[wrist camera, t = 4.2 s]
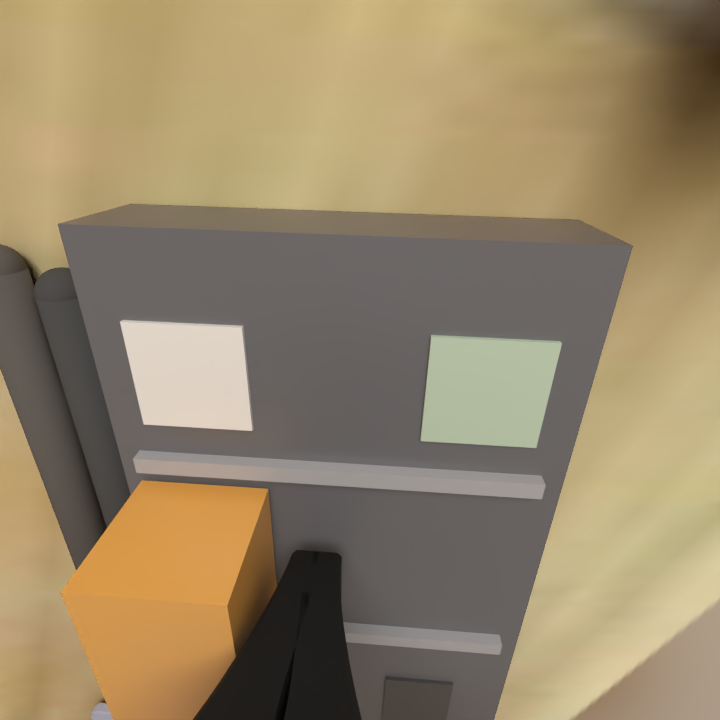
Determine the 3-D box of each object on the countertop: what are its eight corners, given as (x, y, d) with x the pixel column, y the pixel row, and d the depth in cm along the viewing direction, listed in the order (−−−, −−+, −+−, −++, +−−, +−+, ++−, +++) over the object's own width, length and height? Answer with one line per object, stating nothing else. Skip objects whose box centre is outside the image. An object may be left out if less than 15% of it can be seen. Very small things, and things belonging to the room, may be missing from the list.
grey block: (472, 674, 18) (485, 764, 15) (217, 653, 18) (189, 736, 16) (578, 219, 10) (641, 250, 7) (130, 203, 10) (46, 226, 8)
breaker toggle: (279, 611, 12) (249, 737, 10) (172, 602, 13) (115, 724, 10) (268, 488, 10) (226, 606, 8) (141, 480, 11) (60, 592, 8)
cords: (189, 644, 18) (176, 677, 17) (122, 638, 18) (105, 670, 17) (93, 241, 11) (59, 254, 10) (-16, 237, 11) (-61, 249, 10)
